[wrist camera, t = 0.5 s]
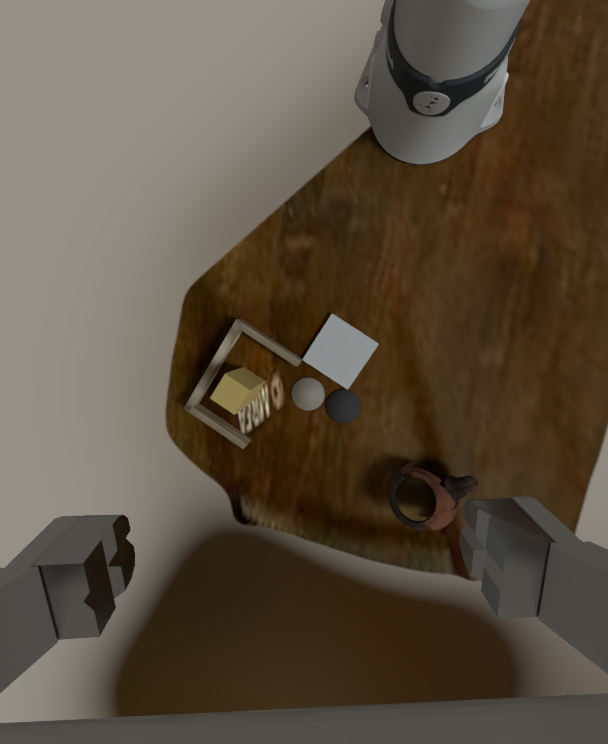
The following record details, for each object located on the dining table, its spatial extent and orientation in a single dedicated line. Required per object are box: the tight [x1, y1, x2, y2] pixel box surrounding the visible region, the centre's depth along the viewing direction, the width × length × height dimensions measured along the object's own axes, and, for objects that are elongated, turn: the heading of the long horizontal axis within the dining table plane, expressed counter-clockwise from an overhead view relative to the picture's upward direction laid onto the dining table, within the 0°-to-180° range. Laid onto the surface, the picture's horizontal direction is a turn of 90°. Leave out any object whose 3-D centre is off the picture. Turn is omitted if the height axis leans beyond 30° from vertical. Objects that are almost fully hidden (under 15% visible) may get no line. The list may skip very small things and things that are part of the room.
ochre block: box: [210, 367, 265, 415], centre depth 51 cm, size 4×4×8 cm
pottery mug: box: [389, 462, 478, 530], centre depth 51 cm, size 12×10×8 cm
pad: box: [302, 314, 379, 390], centre depth 52 cm, size 8×8×1 cm
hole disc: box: [327, 390, 361, 423], centre depth 53 cm, size 5×5×1 cm
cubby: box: [184, 319, 302, 449], centre depth 54 cm, size 16×11×2 cm
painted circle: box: [291, 378, 325, 410], centre depth 54 cm, size 5×5×1 cm
